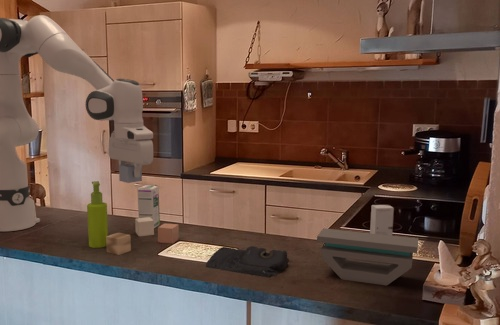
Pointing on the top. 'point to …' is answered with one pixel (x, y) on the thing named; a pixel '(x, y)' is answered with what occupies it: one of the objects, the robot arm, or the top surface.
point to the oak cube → (118, 243)
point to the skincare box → (381, 219)
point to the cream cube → (144, 226)
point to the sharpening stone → (367, 255)
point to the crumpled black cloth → (249, 261)
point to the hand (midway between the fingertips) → (130, 175)
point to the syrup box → (149, 203)
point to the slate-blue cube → (128, 173)
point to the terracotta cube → (168, 233)
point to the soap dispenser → (97, 219)
